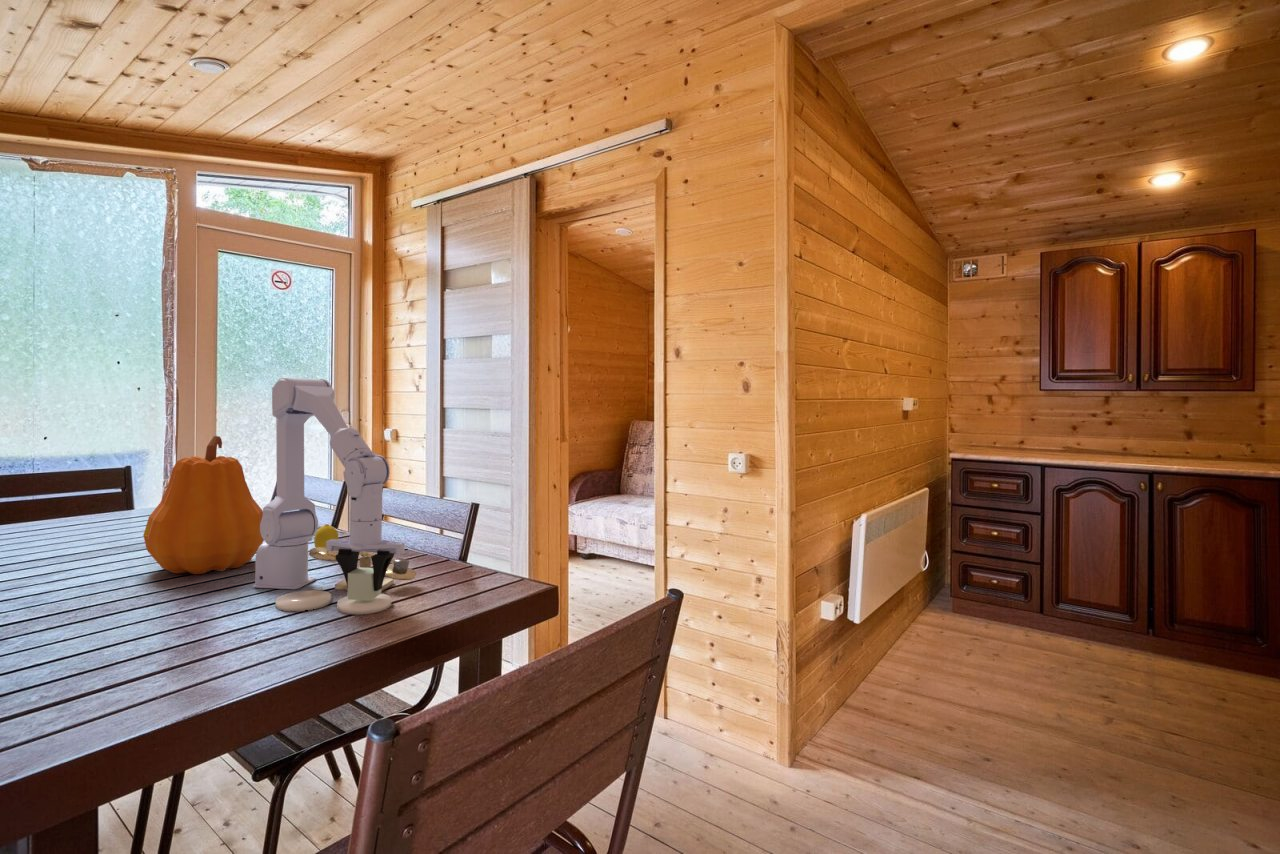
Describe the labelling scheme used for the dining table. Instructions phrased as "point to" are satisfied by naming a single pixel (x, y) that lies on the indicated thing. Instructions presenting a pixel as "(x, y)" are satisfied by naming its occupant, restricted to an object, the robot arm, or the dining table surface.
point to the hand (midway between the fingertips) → (364, 589)
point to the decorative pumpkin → (205, 516)
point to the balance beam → (394, 572)
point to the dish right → (364, 605)
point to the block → (361, 584)
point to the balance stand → (365, 563)
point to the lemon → (325, 535)
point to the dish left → (303, 600)
